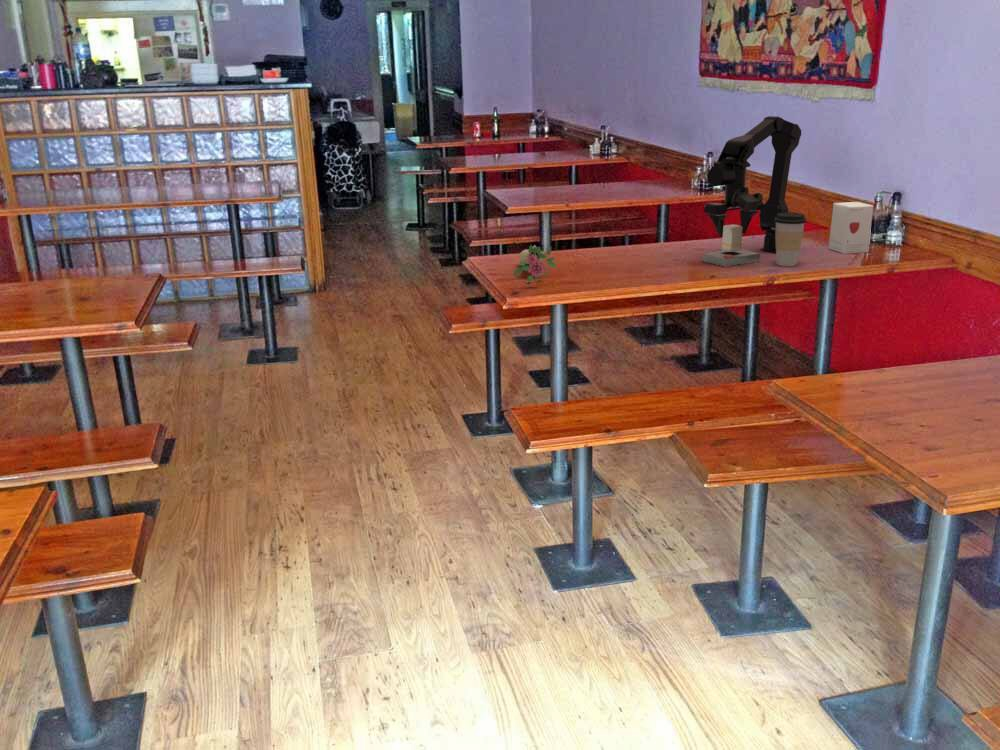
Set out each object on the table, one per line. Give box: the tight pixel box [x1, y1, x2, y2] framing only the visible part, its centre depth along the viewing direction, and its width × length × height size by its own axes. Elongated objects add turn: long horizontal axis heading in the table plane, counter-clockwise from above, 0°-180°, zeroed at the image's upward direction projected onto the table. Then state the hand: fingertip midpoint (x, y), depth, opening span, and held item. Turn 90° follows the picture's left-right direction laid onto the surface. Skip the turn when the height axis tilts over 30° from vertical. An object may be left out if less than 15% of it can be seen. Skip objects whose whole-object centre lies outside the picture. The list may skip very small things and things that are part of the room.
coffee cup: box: [774, 212, 808, 267], centre depth 279 cm, size 9×9×15 cm
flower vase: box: [513, 244, 557, 282], centre depth 269 cm, size 12×12×35 cm
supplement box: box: [828, 201, 874, 255], centre depth 296 cm, size 9×9×15 cm
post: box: [721, 223, 743, 252], centre depth 284 cm, size 4×4×7 cm
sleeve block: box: [701, 248, 761, 267], centre depth 286 cm, size 14×10×3 cm
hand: (732, 235), depth 284 cm, fingers open, 9 cm apart
